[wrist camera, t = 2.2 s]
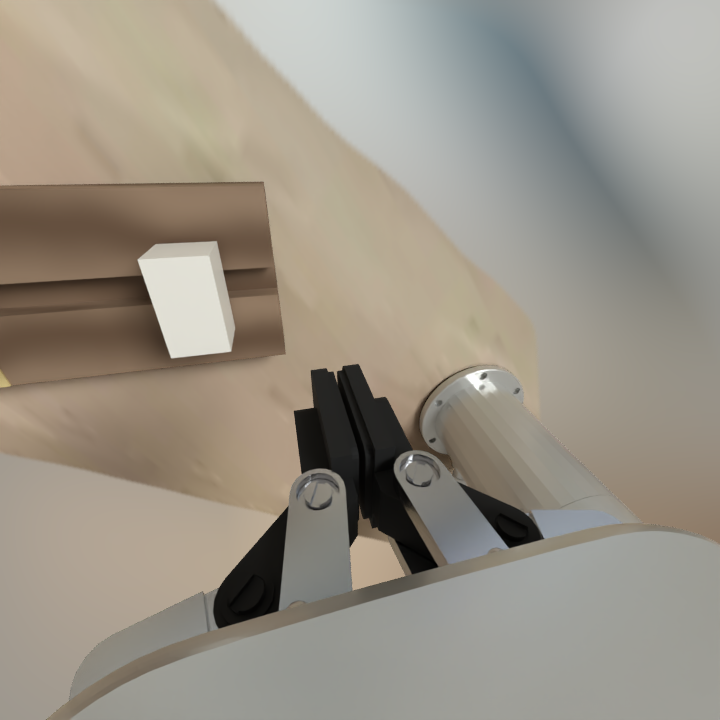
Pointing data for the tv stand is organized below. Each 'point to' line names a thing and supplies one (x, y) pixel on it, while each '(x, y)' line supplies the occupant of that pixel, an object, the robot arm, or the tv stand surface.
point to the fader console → (123, 275)
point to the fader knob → (189, 297)
